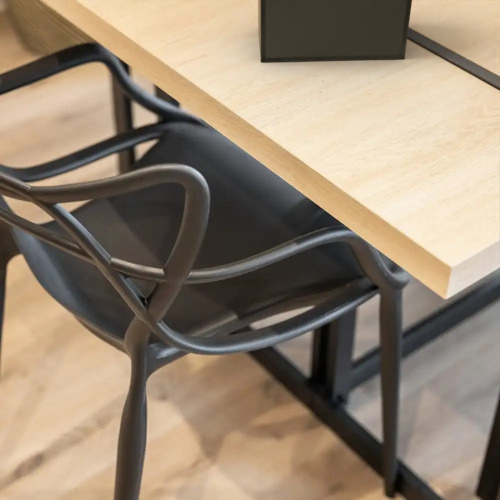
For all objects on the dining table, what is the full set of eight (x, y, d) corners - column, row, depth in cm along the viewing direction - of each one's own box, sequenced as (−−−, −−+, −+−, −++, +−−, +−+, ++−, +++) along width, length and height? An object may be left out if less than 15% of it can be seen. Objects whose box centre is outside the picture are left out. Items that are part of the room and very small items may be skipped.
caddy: (392, 23, 95) (400, -40, 90) (404, 59, 89) (413, -7, 84) (258, 26, 95) (257, -37, 90) (260, 62, 89) (260, -4, 83)
